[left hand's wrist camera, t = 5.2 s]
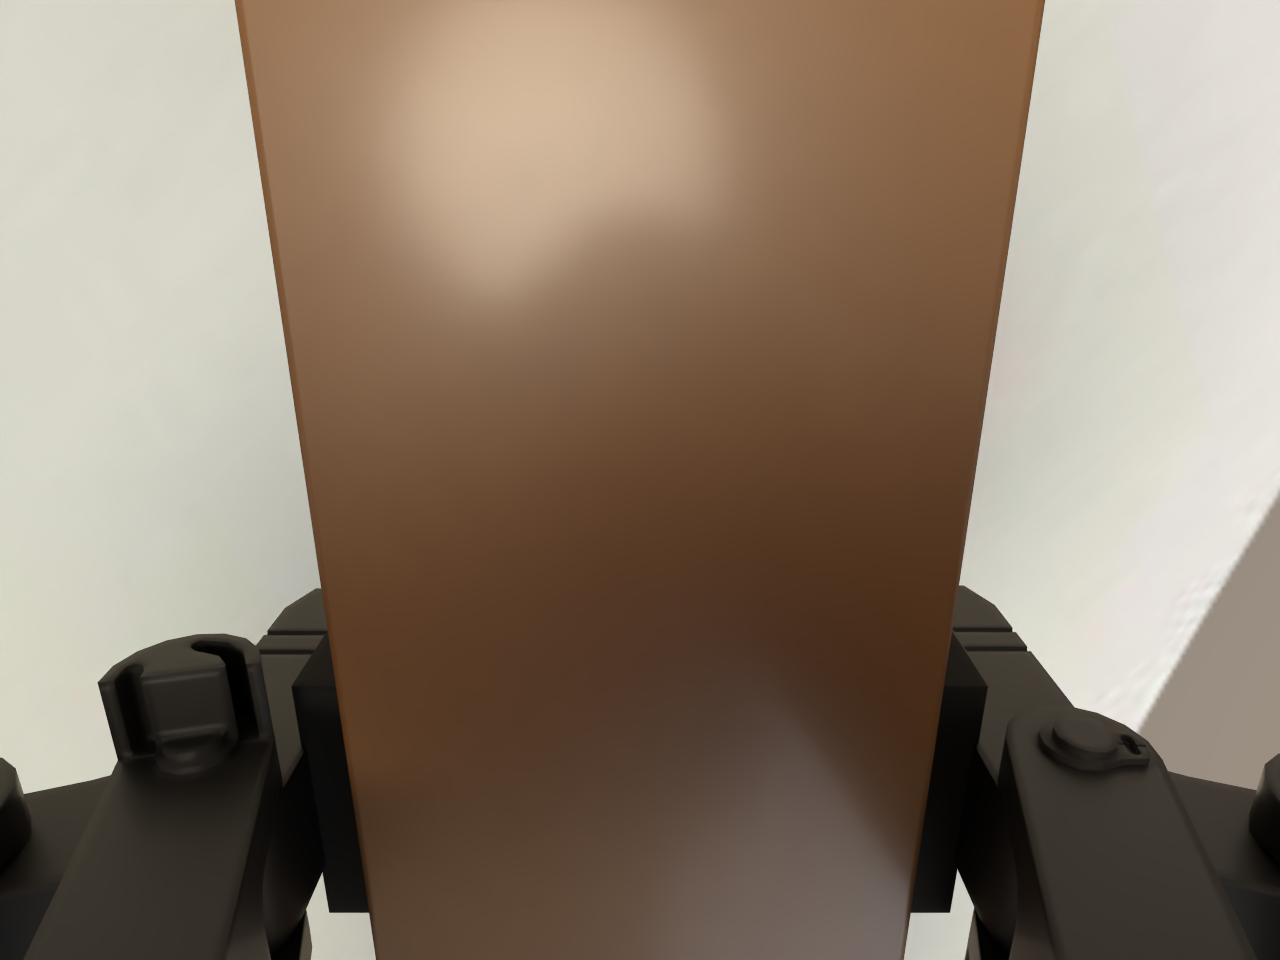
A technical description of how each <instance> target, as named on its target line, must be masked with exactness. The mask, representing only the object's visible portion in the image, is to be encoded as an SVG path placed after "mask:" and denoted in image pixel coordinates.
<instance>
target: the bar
mask: <svg viewBox="0 0 1280 960" xmlns="http://www.w3.org/2000/svg"><path fill="white" fill-rule="evenodd" d="M1044 4H1045V0H235V5H236V12H237V19H238V26H239V32H240V39H241V46H242V53H243V60H244V66H245V73H246V80H247V87H248V94H249V100H250V107H251V114H252V121H253V127H254V134H255V141H256V148H257V155H258V161H259V168H260V175H261V182H262V189H263V195H264V202H265V209H266V216H267V222H268V229H269V236H270V243H271V250H272V256H273V263H274V270H275V277H276V283H277V290H278V297H279V304H280V311H281V317H282V324H283V331H284V338H285V345H286V351H287V358H288V365H289V372H290V378H291V385H292V392H293V399H294V406H295V412H296V419H297V426H298V433H299V439H300V446H301V453H302V460H303V467H304V473H305V480H306V487H307V494H308V501H309V507H310V514H311V521H312V528H313V534H314V541H315V548H316V555H317V562H318V568H319V575H320V582H321V589H322V596H323V602H324V609H325V616H326V623H327V629H328V636H329V643H330V650H331V657H332V663H333V670H334V677H335V684H336V690H337V697H338V704H339V711H340V718H341V724H342V731H343V738H344V745H345V752H346V758H347V765H348V772H349V779H350V785H351V792H352V799H353V806H354V813H355V819H356V826H357V833H358V840H359V847H360V853H361V860H362V867H363V874H364V880H365V887H366V894H367V901H368V908H369V914H370V921H371V928H372V935H373V941H374V948H375V955H376V960H904V953H905V947H906V940H907V933H908V926H909V919H910V913H911V906H912V899H913V892H914V886H915V879H916V872H917V865H918V858H919V852H920V845H921V838H922V831H923V825H924V818H925V811H926V804H927V797H928V791H929V784H930V777H931V770H932V763H933V757H934V750H935V743H936V736H937V730H938V723H939V716H940V709H941V702H942V696H943V689H944V682H945V675H946V669H947V662H948V655H949V648H950V641H951V635H952V628H953V621H954V614H955V608H956V601H957V594H958V587H959V580H960V574H961V567H962V560H963V553H964V546H965V540H966V533H967V526H968V519H969V513H970V506H971V499H972V492H973V485H974V479H975V472H976V465H977V458H978V452H979V445H980V438H981V431H982V424H983V418H984V411H985V404H986V397H987V390H988V384H989V377H990V370H991V363H992V357H993V350H994V343H995V336H996V329H997V323H998V316H999V309H1000V302H1001V296H1002V289H1003V282H1004V275H1005V268H1006V262H1007V255H1008V248H1009V241H1010V235H1011V228H1012V221H1013V214H1014V207H1015V201H1016V194H1017V187H1018V180H1019V174H1020V167H1021V160H1022V153H1023V146H1024V140H1025V133H1026V126H1027V119H1028V112H1029V106H1030V99H1031V92H1032V85H1033V79H1034V72H1035V65H1036V58H1037V51H1038V45H1039V38H1040V31H1041V24H1042V18H1043V11H1044Z"/></svg>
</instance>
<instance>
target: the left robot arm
mask: <svg viewBox="0 0 1280 960" xmlns="http://www.w3.org/2000/svg"><path fill="white" fill-rule="evenodd" d="M98 686H99V689H100V693H101V697H102V701H103V705H104V708H105V712H106V716H107V720H108V724H109V728H110V731H111V735H112V739H113V743H114V747H115V750H116V754H117V758H118V762H117V764H116V766H115V768H114V770H113V772H112V774H111V775H110V776H106V777H103V778H99V779H95V780H91V781H86V782H81V783H76V784H72V785H67V786H62V787H57V788H52V789H47V790H42V791H37V792H32V793H28V794H23V791H22V788H21V784H20V781H19V778H18V775H17V772H16V769H15V768H14V767H13V766H12V765H11V764H9V763H8V762H7V761H5V760H4V759H3V758H0V960H311V952H312V942H311V935H310V928H309V922H308V917H307V911H306V908H307V906H308V903H309V901H310V899H311V897H312V894H313V892H314V890H315V887H316V885H317V883H318V881H319V878H320V876H321V874H322V872H323V877H324V883H325V889H326V895H327V901H328V907H329V913H369V908H368V901H367V894H366V887H365V880H364V874H363V867H362V860H361V853H360V847H359V840H358V833H357V826H356V819H355V813H354V806H353V799H352V792H351V785H350V779H349V772H348V765H347V758H346V752H345V745H344V738H343V731H342V724H341V718H340V711H339V704H338V697H337V690H336V684H335V677H334V670H333V663H332V657H331V650H330V643H329V636H328V629H327V623H326V616H325V609H324V602H323V596H322V589H314V590H313V591H311V592H310V593H308V594H307V595H305V596H303V597H302V598H300V599H299V600H297V601H295V602H294V603H292V604H291V605H289V606H288V607H286V608H285V609H284V610H283V611H282V613H281V614H280V615H279V617H278V618H277V619H276V620H275V622H274V623H273V624H272V626H271V627H270V628H269V630H268V634H267V635H264V636H263V637H262V639H261V640H260V641H259V642H258V644H257V645H256V646H255V645H254V644H253V643H251V642H250V641H249V640H247V639H246V638H242V637H237V636H233V635H228V634H197V635H192V636H187V637H182V638H177V639H172V640H167V641H164V642H161V643H159V644H156V645H153V646H151V647H148V648H145V649H143V650H140V651H137V652H136V653H134V654H132V655H131V656H129V657H127V658H126V659H124V660H122V661H121V662H119V663H117V664H116V665H114V666H113V667H112V668H111V669H110V670H109V671H108V672H107V673H106V674H105V675H104V676H103V677H102V679H101V680H100V681H99V682H98ZM957 869H958V871H959V873H960V875H961V878H962V880H963V882H964V884H965V887H966V889H967V891H968V894H969V896H970V898H971V900H972V903H973V905H974V911H973V917H972V922H971V928H970V933H969V939H968V944H967V950H966V955H965V960H1280V754H1277V755H1276V756H1275V757H1274V758H1273V759H1271V760H1270V761H1269V762H1267V763H1266V764H1265V766H1264V769H1263V772H1262V776H1261V779H1260V782H1259V785H1258V788H1257V790H1252V789H1247V788H1242V787H1237V786H1232V785H1227V784H1222V783H1217V782H1213V781H1208V780H1203V779H1198V778H1193V777H1188V776H1184V775H1180V774H1177V773H1173V772H1169V771H1167V769H1166V766H1165V764H1164V762H1163V760H1162V759H1161V757H1160V756H1159V755H1158V753H1157V752H1156V751H1155V750H1154V748H1153V747H1152V746H1151V745H1150V743H1149V742H1148V741H1147V740H1145V739H1144V738H1143V737H1141V736H1140V735H1138V734H1137V733H1136V732H1134V731H1133V730H1131V729H1130V728H1128V727H1127V726H1126V725H1124V724H1121V723H1119V722H1117V721H1114V720H1112V719H1110V718H1108V717H1105V716H1103V715H1101V714H1098V713H1095V712H1091V711H1087V710H1082V709H1078V708H1074V706H1073V705H1072V704H1071V702H1070V701H1069V700H1068V699H1067V697H1066V696H1065V695H1064V693H1063V692H1062V691H1061V690H1060V688H1059V687H1058V686H1057V684H1056V683H1055V682H1054V681H1053V679H1052V678H1051V677H1050V675H1049V674H1048V673H1047V672H1046V670H1045V669H1044V668H1043V666H1042V665H1041V664H1040V663H1039V661H1038V660H1037V659H1036V657H1035V656H1034V655H1033V654H1032V652H1031V651H1027V646H1026V645H1025V643H1024V642H1023V641H1022V640H1021V638H1020V637H1019V636H1018V634H1017V633H1016V632H1012V627H1011V625H1010V624H1009V623H1008V622H1007V620H1006V619H1005V618H1004V616H1003V615H1002V614H1001V613H1000V611H999V610H998V609H997V607H996V606H995V605H994V604H992V603H991V602H989V601H987V600H986V599H984V598H983V597H981V596H979V595H978V594H976V593H975V592H973V591H971V590H970V589H968V588H967V587H965V586H959V587H958V594H957V601H956V608H955V614H954V621H953V628H952V635H951V641H950V648H949V655H948V662H947V669H946V675H945V682H944V689H943V696H942V702H941V709H940V716H939V723H938V730H937V736H936V743H935V750H934V757H933V763H932V770H931V777H930V784H929V791H928V797H927V804H926V811H925V818H924V825H923V831H922V838H921V845H920V852H919V858H918V865H917V872H916V879H915V886H914V892H913V899H912V906H911V913H950V909H951V903H952V897H953V892H954V886H955V880H956V874H957Z"/></svg>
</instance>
